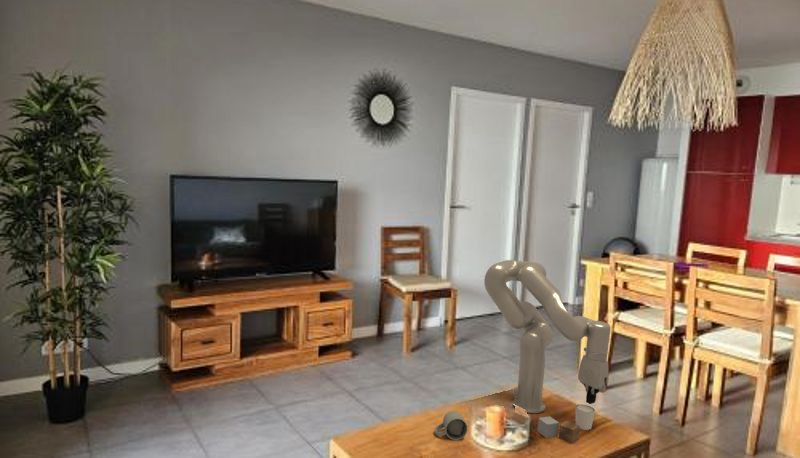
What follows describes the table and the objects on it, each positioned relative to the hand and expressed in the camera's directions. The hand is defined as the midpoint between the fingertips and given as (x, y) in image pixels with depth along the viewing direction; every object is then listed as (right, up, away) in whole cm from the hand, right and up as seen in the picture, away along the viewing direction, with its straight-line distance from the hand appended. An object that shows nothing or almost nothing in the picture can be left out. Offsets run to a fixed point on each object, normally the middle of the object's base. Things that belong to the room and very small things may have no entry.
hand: (590, 402), depth 201 cm
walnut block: (-12, -9, -11) cm, 19 cm away
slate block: (-18, -8, -9) cm, 22 cm away
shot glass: (-3, -9, -1) cm, 9 cm away
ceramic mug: (-53, -7, -14) cm, 56 cm away
